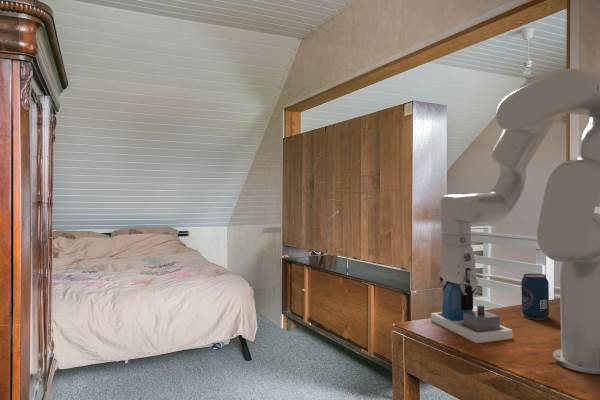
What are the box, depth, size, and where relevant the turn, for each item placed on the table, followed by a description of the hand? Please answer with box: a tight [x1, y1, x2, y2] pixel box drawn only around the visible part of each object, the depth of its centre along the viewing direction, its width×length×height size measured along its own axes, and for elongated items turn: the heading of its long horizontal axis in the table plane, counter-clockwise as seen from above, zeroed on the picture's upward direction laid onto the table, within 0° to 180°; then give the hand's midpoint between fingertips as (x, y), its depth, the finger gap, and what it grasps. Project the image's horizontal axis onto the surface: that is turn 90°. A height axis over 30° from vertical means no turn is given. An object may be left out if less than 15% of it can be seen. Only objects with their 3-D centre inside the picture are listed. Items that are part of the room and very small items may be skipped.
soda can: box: [520, 273, 550, 321], centre depth 130 cm, size 7×7×12 cm
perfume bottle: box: [441, 283, 474, 321], centre depth 122 cm, size 6×6×12 cm
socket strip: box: [430, 311, 514, 344], centre depth 117 cm, size 20×10×3 cm, turn 15°
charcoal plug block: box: [463, 305, 501, 333], centre depth 112 cm, size 6×6×7 cm
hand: (457, 305), depth 122 cm, fingers closed on perfume bottle, 7 cm apart
